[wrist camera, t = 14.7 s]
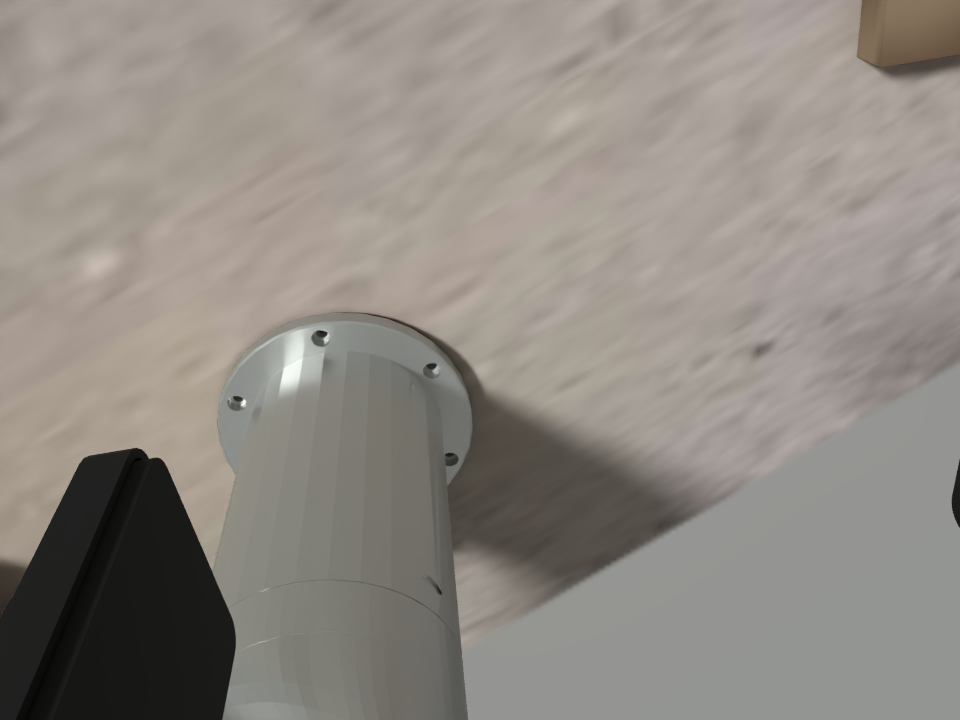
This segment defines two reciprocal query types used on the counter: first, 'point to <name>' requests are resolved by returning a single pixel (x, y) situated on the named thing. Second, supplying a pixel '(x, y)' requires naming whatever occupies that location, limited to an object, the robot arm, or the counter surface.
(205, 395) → the counter surface
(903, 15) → the shelf board
